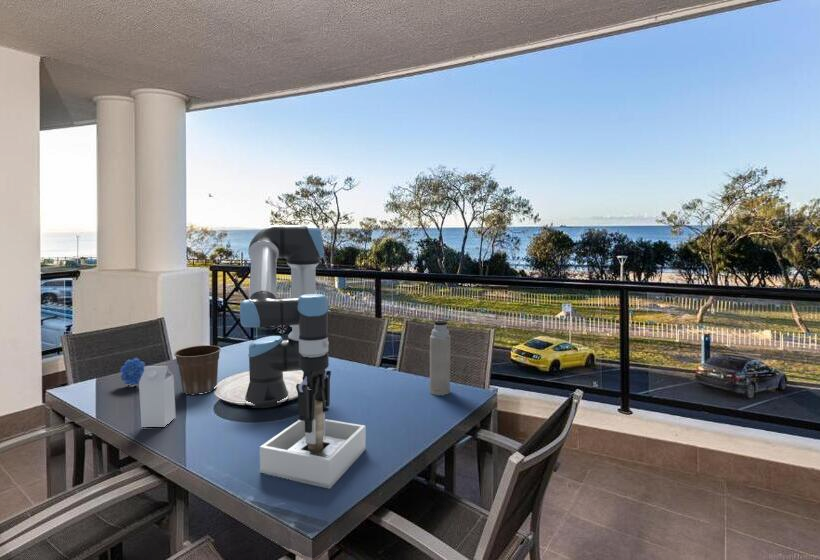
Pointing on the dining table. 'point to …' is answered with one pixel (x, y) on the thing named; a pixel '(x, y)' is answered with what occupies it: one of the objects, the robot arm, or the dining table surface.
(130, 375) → the grapes
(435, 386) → the thermos bottle
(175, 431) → the dining table surface
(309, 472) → the box
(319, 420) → the peg
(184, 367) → the plant pot
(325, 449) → the bore plate
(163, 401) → the milk carton
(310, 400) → the robot arm
